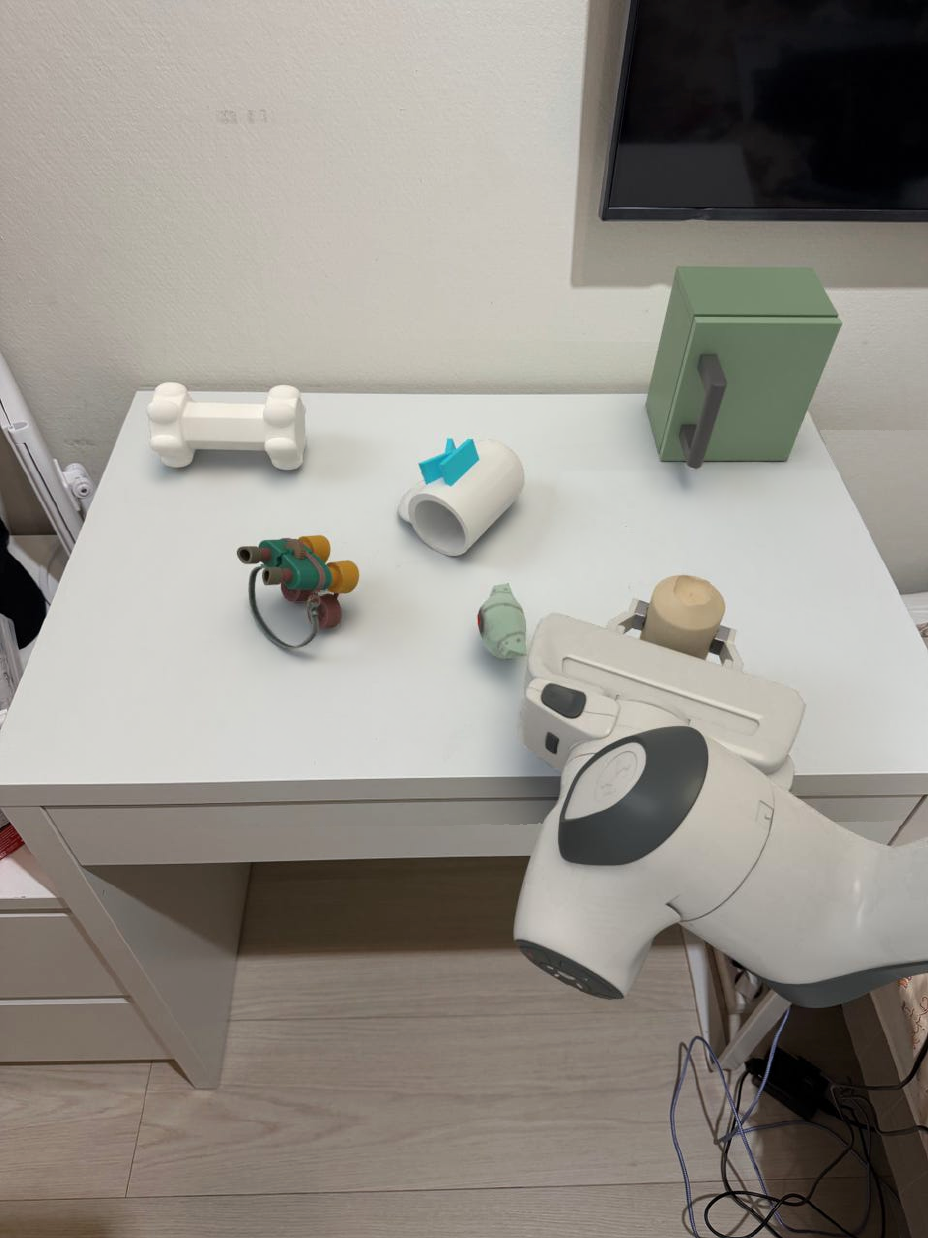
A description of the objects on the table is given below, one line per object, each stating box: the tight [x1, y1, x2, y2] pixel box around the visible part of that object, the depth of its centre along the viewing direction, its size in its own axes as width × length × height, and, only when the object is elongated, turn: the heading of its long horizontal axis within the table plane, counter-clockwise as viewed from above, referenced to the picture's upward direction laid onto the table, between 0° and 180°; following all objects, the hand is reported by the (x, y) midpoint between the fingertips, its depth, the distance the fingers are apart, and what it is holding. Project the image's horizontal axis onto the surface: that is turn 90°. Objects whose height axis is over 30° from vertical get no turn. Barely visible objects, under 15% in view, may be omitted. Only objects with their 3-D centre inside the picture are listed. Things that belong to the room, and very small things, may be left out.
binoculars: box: [236, 534, 360, 650], centre depth 73 cm, size 9×9×10 cm
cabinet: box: [644, 265, 840, 455], centre depth 90 cm, size 9×14×17 cm, turn 92°
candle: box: [638, 574, 726, 661], centre depth 67 cm, size 6×6×10 cm
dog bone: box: [145, 381, 308, 471], centre depth 88 cm, size 15×9×8 cm, turn 90°
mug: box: [397, 437, 525, 557], centre depth 84 cm, size 12×9×12 cm
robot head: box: [476, 582, 528, 660], centre depth 73 cm, size 8×4×7 cm, turn 9°
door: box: [658, 317, 843, 470], centre depth 85 cm, size 6×14×17 cm, turn 92°
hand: (681, 618), depth 67 cm, fingers closed on candle, 5 cm apart
